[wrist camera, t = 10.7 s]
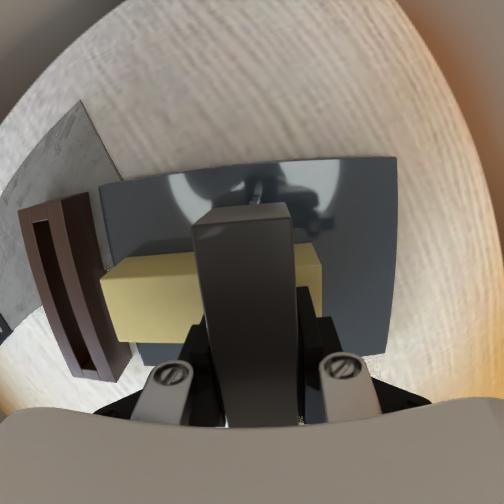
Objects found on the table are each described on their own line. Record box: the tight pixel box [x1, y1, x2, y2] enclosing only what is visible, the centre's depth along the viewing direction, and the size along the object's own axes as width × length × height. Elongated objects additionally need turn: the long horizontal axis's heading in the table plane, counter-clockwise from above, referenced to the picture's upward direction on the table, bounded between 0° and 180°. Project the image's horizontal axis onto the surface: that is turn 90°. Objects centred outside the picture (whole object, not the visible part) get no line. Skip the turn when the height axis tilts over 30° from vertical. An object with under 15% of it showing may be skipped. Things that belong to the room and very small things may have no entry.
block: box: [17, 192, 132, 383], centre depth 16 cm, size 4×12×3 cm, turn 6°
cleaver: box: [0, 100, 123, 345], centre depth 18 cm, size 29×1×10 cm
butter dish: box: [98, 156, 398, 366], centre depth 17 cm, size 16×12×1 cm
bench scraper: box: [190, 194, 299, 428], centre depth 12 cm, size 2×10×9 cm, turn 5°
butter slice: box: [294, 243, 322, 317], centre depth 14 cm, size 2×4×3 cm, turn 6°
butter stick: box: [100, 252, 204, 343], centre depth 15 cm, size 7×4×3 cm, turn 96°
